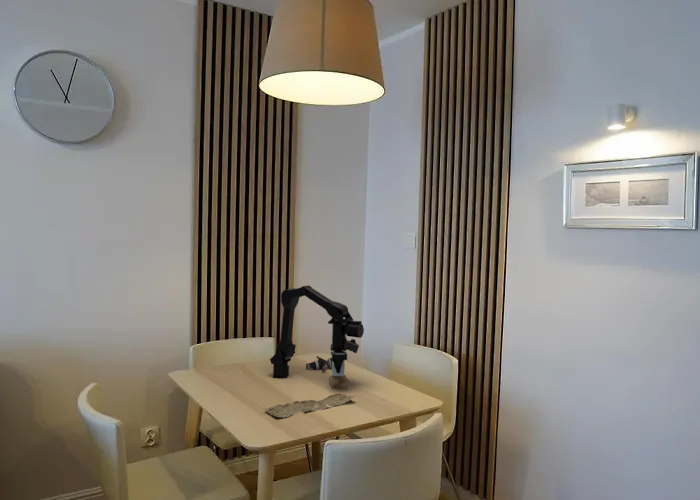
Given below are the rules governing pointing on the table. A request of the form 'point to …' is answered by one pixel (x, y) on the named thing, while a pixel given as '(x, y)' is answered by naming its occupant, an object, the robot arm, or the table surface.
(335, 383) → the base block
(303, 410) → the rock fragment
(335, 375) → the cube
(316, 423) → the table surface
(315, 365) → the toy
